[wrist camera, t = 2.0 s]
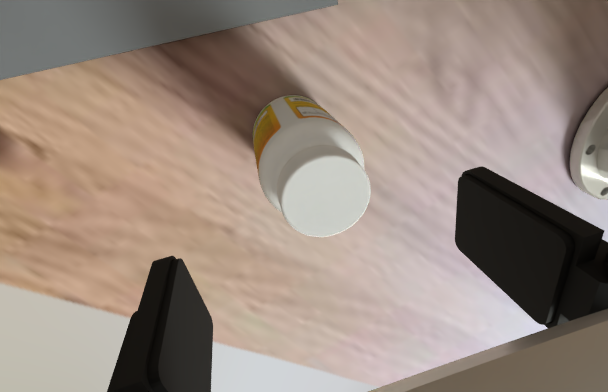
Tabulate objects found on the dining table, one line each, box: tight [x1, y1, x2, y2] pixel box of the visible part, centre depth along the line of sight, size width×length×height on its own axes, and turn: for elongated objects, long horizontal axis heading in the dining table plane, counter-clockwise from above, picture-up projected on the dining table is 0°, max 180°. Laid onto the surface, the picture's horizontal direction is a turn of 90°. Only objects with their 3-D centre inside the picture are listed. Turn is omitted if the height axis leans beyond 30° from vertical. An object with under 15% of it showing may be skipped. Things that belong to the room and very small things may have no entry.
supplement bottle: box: [253, 95, 371, 237], centre depth 18 cm, size 5×5×10 cm
